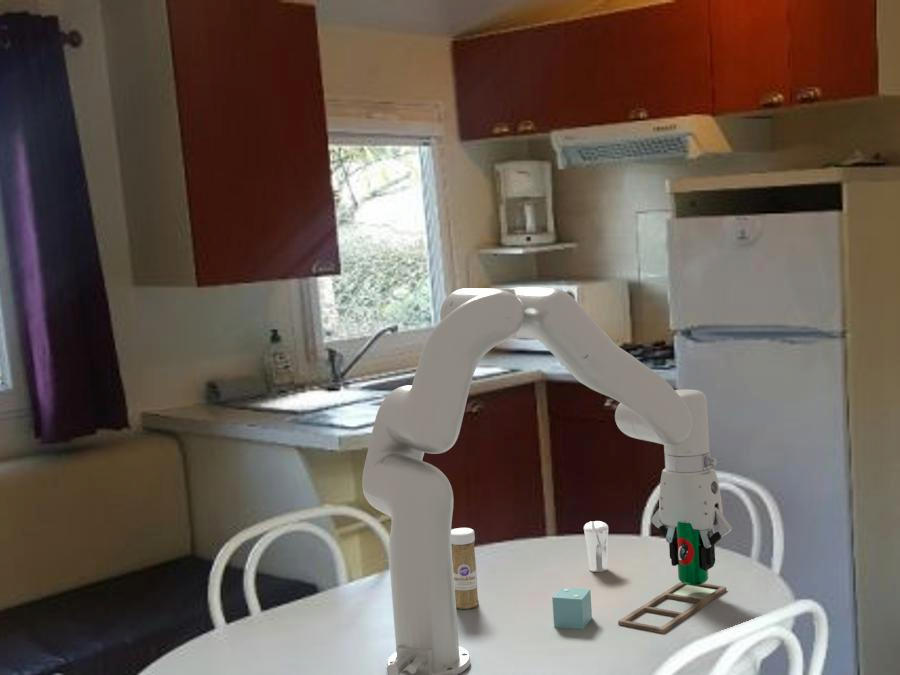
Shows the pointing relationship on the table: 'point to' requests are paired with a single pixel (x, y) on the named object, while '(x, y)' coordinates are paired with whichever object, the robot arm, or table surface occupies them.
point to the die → (572, 608)
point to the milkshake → (596, 545)
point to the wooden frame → (678, 592)
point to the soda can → (689, 554)
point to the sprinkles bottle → (464, 568)
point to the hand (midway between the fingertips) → (692, 564)
